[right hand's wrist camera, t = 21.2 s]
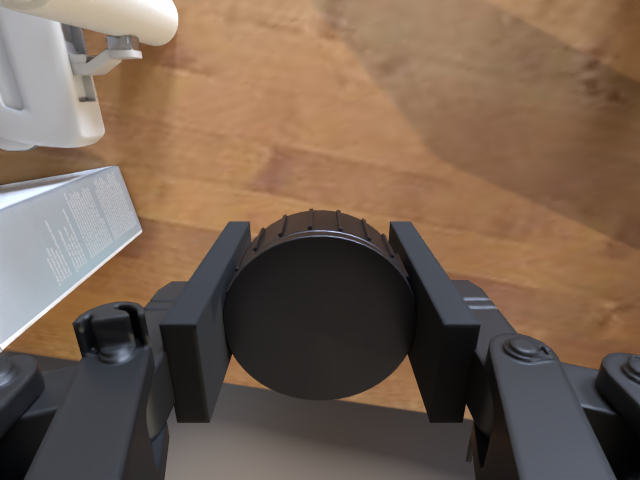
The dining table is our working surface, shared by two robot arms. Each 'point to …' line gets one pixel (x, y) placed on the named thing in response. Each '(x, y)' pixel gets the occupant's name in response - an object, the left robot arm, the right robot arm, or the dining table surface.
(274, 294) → the lid
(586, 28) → the dining table surface
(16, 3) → the white tube
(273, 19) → the dining table surface
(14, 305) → the hard drive box
